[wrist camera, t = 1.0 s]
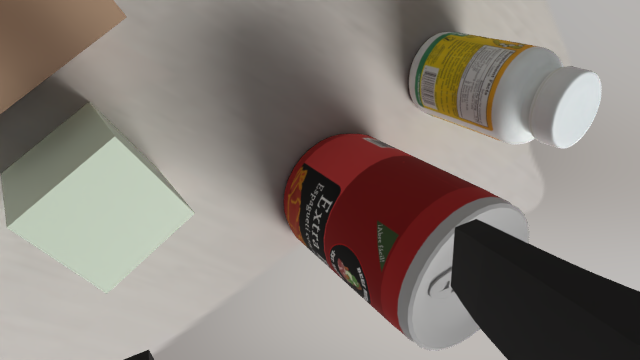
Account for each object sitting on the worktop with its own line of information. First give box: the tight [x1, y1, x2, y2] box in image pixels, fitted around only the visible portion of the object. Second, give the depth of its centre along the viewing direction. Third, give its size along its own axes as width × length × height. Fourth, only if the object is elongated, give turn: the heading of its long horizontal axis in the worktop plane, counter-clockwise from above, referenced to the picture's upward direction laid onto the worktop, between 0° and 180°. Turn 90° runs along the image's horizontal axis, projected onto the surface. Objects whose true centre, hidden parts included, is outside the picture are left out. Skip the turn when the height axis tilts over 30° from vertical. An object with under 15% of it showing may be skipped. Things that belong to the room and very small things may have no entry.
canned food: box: [284, 134, 529, 351], centre depth 26 cm, size 8×8×11 cm
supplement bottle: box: [409, 32, 601, 148], centre depth 27 cm, size 5×5×10 cm
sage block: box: [1, 102, 195, 294], centre depth 19 cm, size 4×4×5 cm
